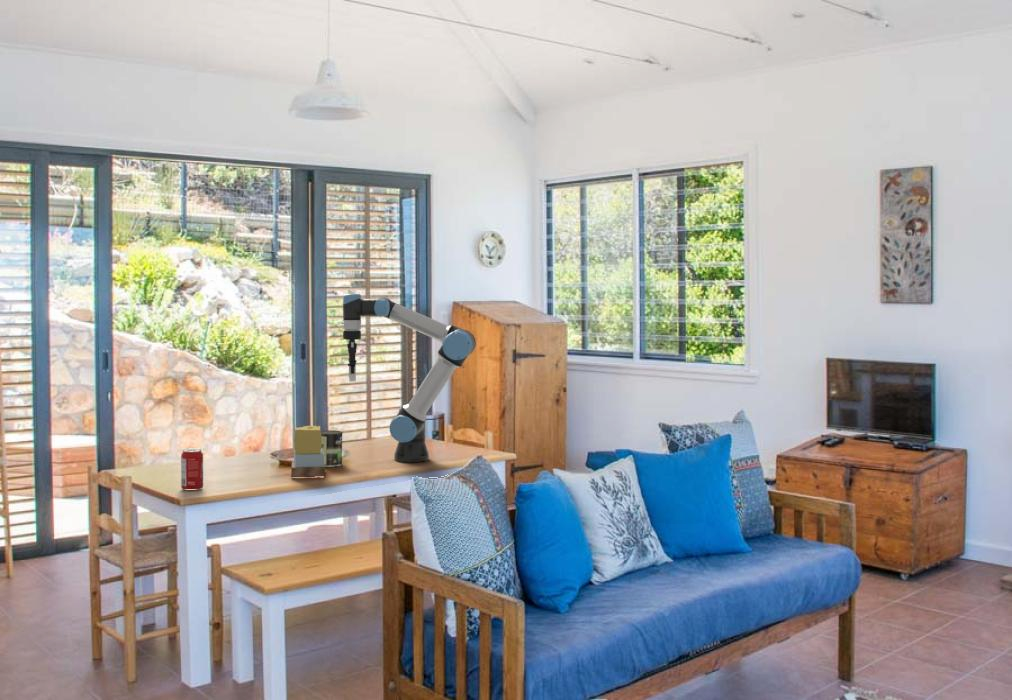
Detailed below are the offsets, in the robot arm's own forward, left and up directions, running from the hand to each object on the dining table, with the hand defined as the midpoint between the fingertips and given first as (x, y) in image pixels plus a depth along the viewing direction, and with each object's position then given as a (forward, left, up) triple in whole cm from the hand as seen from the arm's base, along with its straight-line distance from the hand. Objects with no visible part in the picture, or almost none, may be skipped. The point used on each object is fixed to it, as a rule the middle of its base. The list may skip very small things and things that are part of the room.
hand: (352, 379), depth 434 cm
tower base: (+17, +25, -37) cm, 47 cm away
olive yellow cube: (+17, +25, -27) cm, 40 cm away
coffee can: (+9, +4, -36) cm, 38 cm away
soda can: (+58, +50, -36) cm, 85 cm away
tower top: (+17, +25, -32) cm, 44 cm away
